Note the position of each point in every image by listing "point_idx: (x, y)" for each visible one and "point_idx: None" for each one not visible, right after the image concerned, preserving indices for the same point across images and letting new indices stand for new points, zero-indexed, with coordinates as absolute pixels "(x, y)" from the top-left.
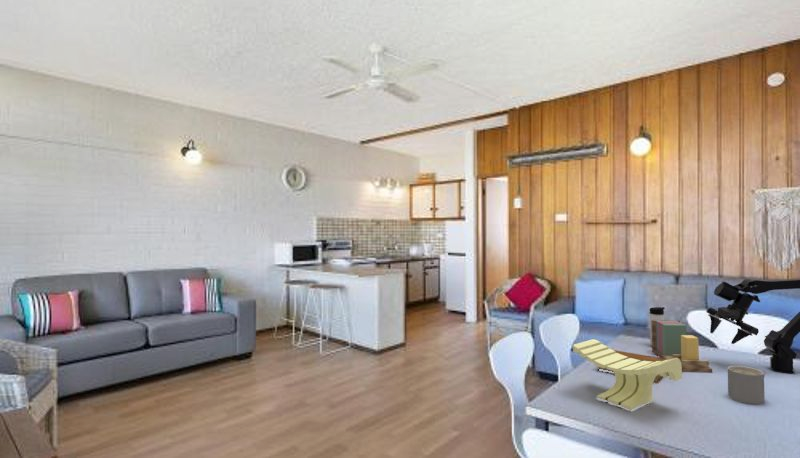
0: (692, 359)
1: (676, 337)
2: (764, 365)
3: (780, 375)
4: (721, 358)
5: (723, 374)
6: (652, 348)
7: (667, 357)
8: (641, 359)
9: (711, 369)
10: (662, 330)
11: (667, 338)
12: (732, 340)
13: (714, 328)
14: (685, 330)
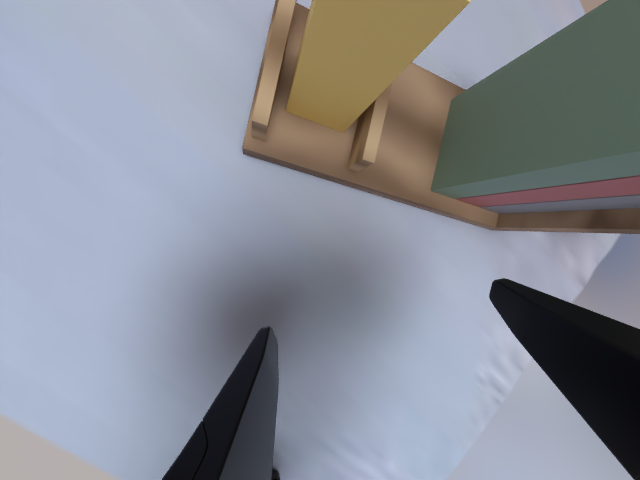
0: (299, 54)
1: (545, 104)
2: (303, 456)
3: (161, 440)
4: (408, 343)
5: (210, 184)
6: None
7: (429, 85)
8: None
9: (243, 145)
10: None
11: (549, 50)
12: (261, 350)
13: (549, 346)
14: (609, 148)
